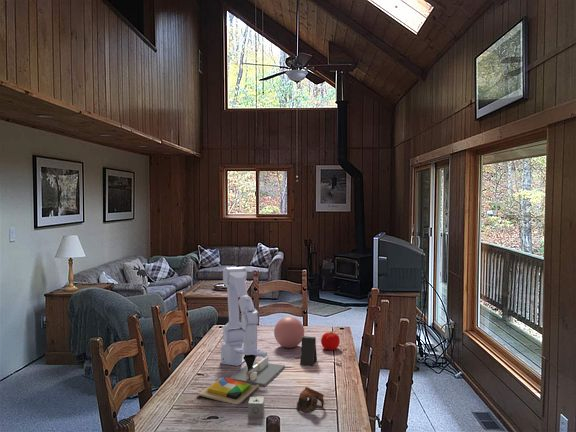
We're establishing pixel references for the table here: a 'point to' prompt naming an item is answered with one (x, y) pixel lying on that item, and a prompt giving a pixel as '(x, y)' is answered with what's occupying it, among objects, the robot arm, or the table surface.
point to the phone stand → (308, 351)
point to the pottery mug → (312, 401)
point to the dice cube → (256, 407)
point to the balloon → (289, 332)
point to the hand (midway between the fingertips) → (250, 372)
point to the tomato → (330, 341)
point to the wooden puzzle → (228, 390)
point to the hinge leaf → (253, 369)
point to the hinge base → (259, 373)
